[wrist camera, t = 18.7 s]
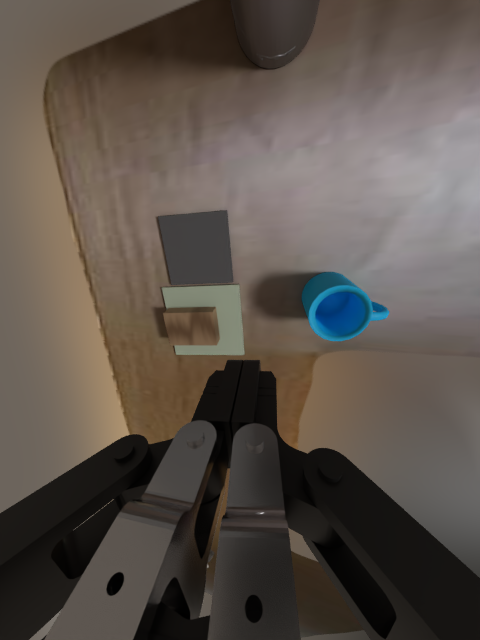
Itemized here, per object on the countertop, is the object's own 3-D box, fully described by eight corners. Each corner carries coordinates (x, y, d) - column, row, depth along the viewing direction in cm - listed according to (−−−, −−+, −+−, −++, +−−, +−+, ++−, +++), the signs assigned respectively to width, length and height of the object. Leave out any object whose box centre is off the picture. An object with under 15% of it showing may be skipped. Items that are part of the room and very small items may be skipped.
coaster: (159, 216, 36) (158, 216, 36) (227, 210, 34) (226, 210, 34) (172, 283, 40) (171, 284, 40) (233, 281, 39) (232, 282, 38)
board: (163, 287, 41) (161, 287, 40) (239, 284, 39) (238, 284, 38) (177, 353, 46) (176, 354, 46) (244, 353, 44) (244, 355, 44)
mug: (297, 315, 40) (302, 336, 32) (307, 268, 36) (316, 281, 29) (367, 324, 39) (389, 349, 31) (384, 278, 35) (414, 293, 28)
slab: (216, 306, 41) (168, 307, 42) (212, 312, 38) (162, 313, 40) (220, 338, 43) (175, 338, 44) (216, 345, 41) (170, 345, 42)
